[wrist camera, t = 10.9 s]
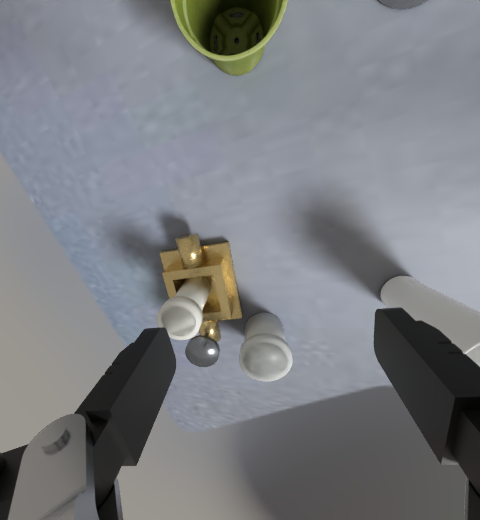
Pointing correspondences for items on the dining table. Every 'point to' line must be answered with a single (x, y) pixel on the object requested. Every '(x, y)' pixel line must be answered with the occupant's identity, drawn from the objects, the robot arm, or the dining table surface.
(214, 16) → the plant pot
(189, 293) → the white mushroom shaped knob
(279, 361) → the cylinder
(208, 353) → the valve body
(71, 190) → the dining table surface
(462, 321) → the white tall cylinder
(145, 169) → the dining table surface
